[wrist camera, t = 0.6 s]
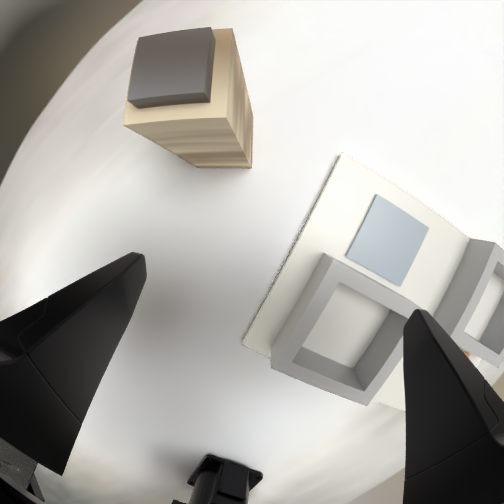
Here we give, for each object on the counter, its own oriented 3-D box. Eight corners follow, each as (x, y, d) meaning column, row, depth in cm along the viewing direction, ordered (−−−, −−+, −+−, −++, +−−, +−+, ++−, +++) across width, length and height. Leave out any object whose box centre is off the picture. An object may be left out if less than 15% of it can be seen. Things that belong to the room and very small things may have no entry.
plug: (251, 168, 21) (221, 107, 9) (198, 167, 22) (110, 118, 9) (253, 117, 21) (228, 14, 8) (201, 118, 21) (127, 29, 8)
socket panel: (434, 415, 23) (451, 440, 19) (243, 339, 23) (236, 366, 19) (514, 280, 21) (542, 290, 16) (339, 155, 21) (355, 141, 16)
